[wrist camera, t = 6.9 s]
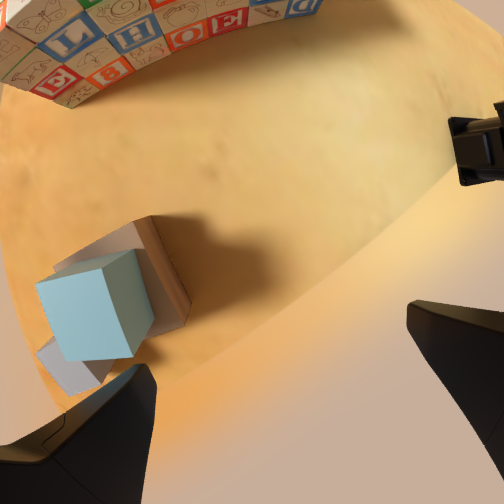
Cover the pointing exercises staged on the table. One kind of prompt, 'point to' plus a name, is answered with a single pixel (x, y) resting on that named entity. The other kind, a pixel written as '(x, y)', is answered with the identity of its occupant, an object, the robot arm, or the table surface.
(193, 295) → the table surface
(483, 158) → the robot arm
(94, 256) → the walnut block
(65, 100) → the stack of blocks
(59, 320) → the teal cube
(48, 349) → the light grey cube
